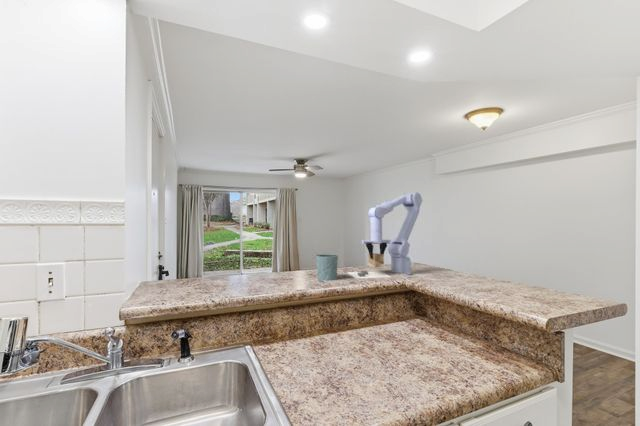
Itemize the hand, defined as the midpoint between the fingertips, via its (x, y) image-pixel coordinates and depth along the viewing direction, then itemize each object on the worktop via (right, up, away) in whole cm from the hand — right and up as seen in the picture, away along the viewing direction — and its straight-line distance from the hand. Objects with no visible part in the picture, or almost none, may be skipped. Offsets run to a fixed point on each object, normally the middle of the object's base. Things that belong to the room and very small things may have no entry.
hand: (376, 258), depth 148 cm
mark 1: (-8, -8, -5) cm, 12 cm away
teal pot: (-25, -9, -11) cm, 29 cm away
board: (-4, -9, -2) cm, 10 cm away
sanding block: (0, -4, +1) cm, 4 cm away
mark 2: (-6, -8, 0) cm, 10 cm away
